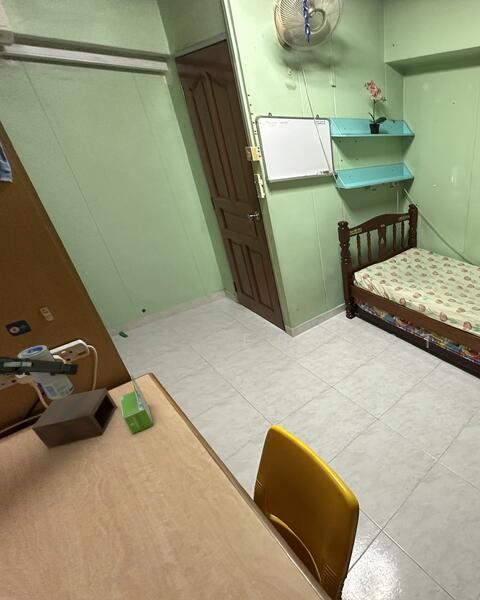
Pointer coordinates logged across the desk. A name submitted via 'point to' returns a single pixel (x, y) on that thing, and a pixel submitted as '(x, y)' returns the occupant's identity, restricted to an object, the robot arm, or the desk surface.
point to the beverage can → (48, 374)
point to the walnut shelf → (75, 417)
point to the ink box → (135, 410)
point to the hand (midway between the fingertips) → (64, 370)
